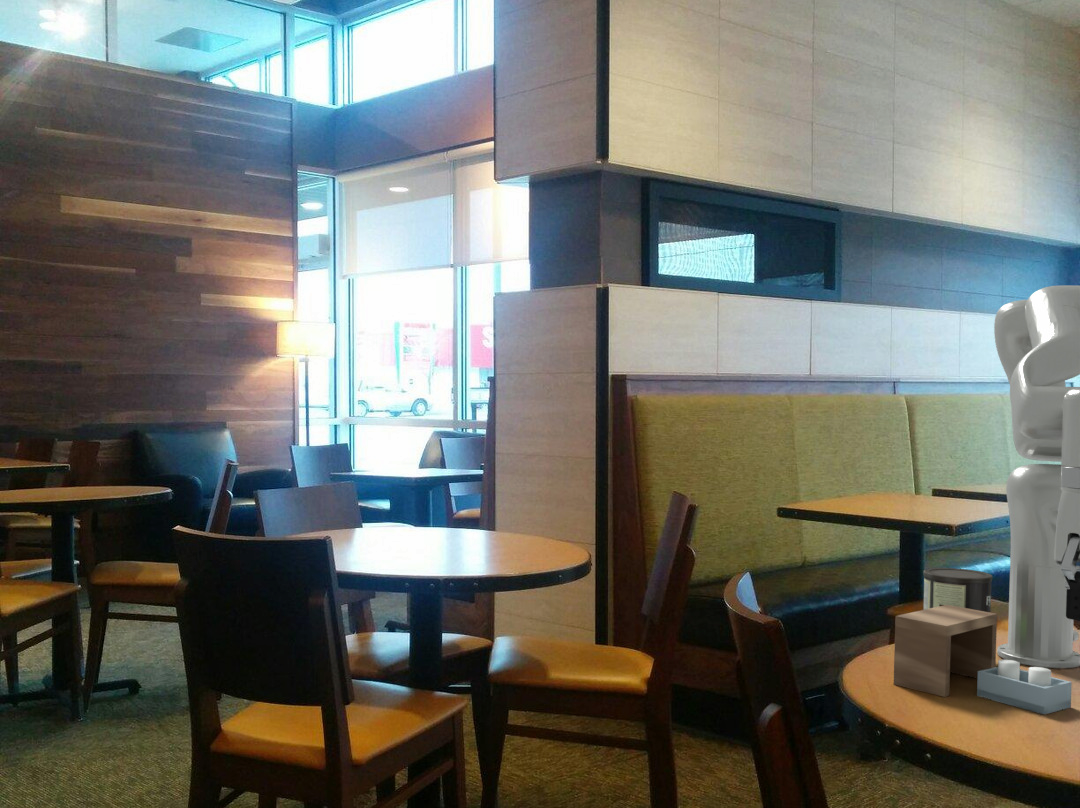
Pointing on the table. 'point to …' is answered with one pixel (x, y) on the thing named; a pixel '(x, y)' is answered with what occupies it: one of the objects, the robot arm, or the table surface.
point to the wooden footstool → (942, 646)
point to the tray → (1024, 687)
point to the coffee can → (957, 588)
